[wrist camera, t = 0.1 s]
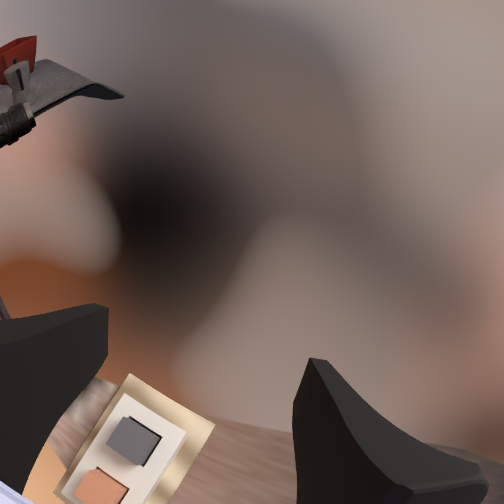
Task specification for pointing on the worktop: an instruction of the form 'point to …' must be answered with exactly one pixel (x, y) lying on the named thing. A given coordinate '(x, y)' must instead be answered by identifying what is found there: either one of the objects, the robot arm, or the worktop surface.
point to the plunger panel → (117, 466)
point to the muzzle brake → (16, 123)
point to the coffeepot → (20, 82)
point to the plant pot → (17, 54)
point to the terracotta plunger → (100, 488)
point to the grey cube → (132, 441)
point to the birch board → (166, 410)
